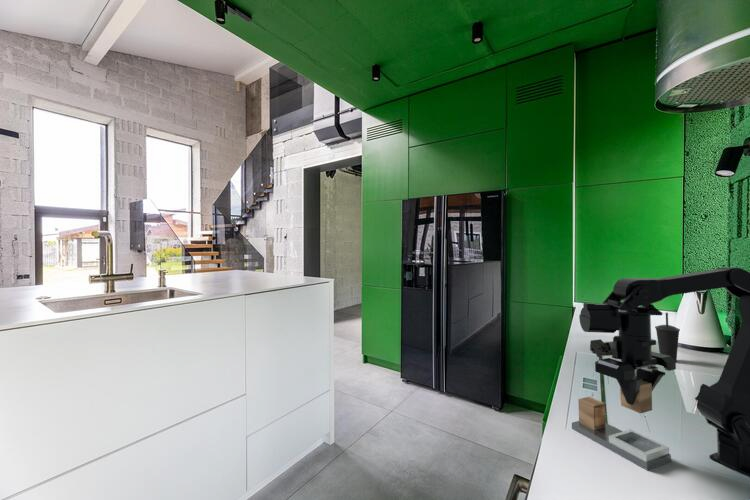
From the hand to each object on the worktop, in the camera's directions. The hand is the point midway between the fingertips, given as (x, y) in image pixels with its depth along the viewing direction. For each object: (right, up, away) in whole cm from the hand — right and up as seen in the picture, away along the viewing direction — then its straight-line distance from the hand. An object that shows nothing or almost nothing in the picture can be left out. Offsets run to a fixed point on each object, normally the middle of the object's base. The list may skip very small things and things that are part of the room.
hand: (636, 402), depth 71 cm
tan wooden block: (0, -1, 0) cm, 1 cm away
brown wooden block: (-4, -10, +9) cm, 14 cm away
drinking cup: (+63, -12, +60) cm, 88 cm away
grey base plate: (-2, -12, +4) cm, 12 cm away
